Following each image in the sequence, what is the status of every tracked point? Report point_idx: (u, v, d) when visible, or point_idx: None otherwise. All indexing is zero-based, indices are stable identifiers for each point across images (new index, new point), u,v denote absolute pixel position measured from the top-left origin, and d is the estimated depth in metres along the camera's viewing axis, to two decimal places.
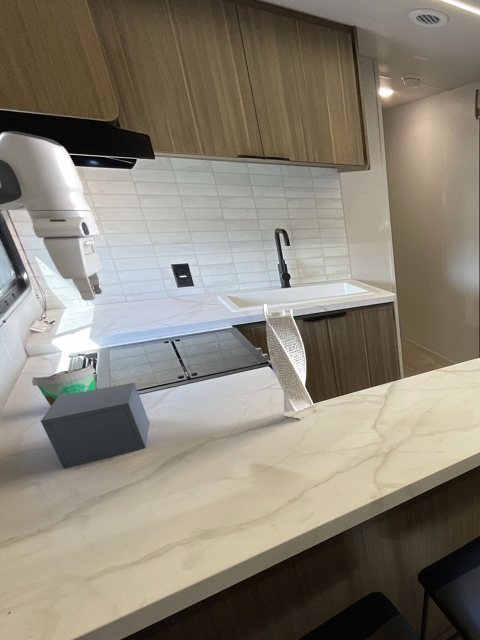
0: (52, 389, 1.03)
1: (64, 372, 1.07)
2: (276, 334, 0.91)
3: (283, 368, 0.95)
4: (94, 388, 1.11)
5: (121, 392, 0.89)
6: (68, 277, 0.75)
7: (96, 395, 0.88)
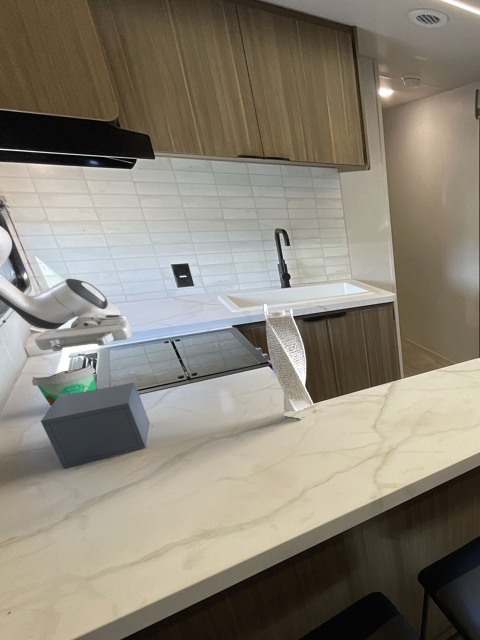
0: (52, 389, 1.03)
1: (64, 372, 1.07)
2: (276, 334, 0.91)
3: (283, 368, 0.95)
4: (94, 388, 1.11)
5: (121, 392, 0.89)
6: (125, 330, 1.19)
7: (96, 395, 0.88)
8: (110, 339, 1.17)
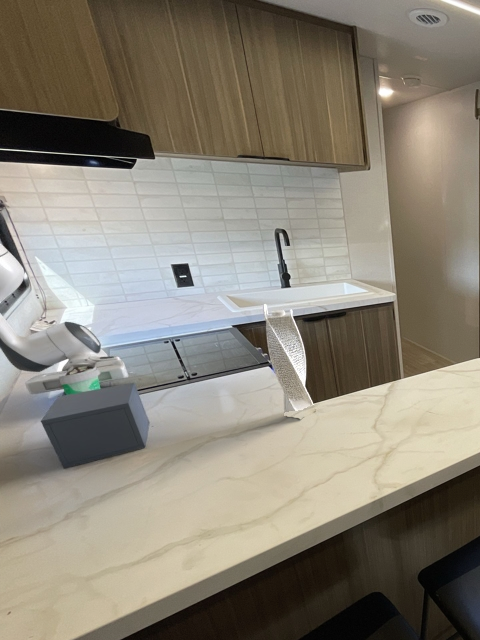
0: (82, 386, 1.05)
1: (73, 372, 1.06)
2: (276, 334, 0.91)
3: (283, 368, 0.95)
4: None
5: (121, 392, 0.89)
6: (123, 369, 1.17)
7: (96, 395, 0.88)
8: None
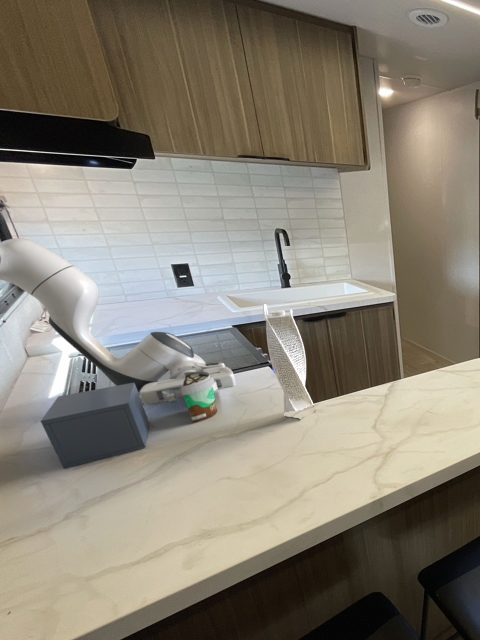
0: (201, 395, 0.98)
1: (189, 380, 0.99)
2: (276, 334, 0.91)
3: (283, 368, 0.95)
4: None
5: (121, 392, 0.89)
6: (232, 377, 1.10)
7: (96, 395, 0.88)
8: (215, 387, 1.06)
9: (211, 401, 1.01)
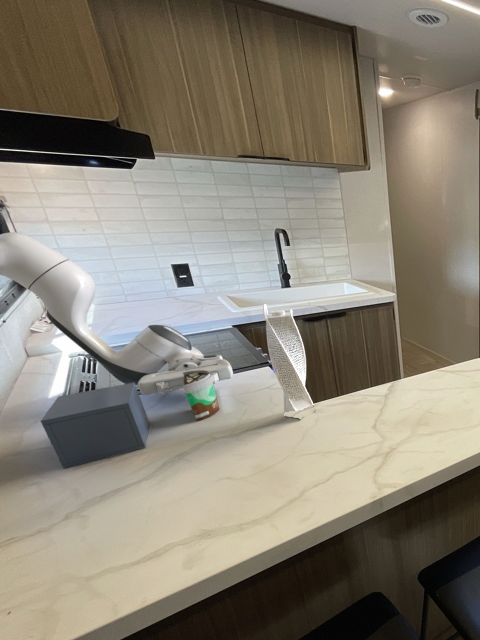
0: (203, 393, 0.99)
1: (189, 379, 1.00)
2: (276, 334, 0.91)
3: (283, 368, 0.95)
4: None
5: (121, 392, 0.89)
6: (230, 369, 1.11)
7: (96, 395, 0.88)
8: (217, 378, 1.08)
9: (213, 399, 1.02)
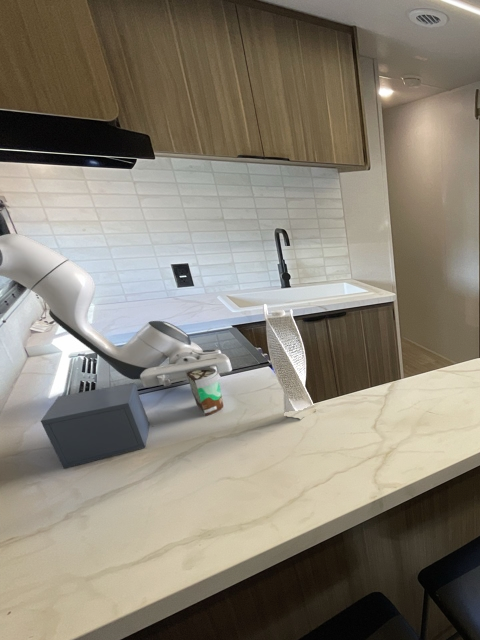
0: (212, 388, 1.02)
1: (196, 376, 1.02)
2: (276, 334, 0.91)
3: (283, 368, 0.95)
4: None
5: (121, 392, 0.89)
6: (228, 362, 1.16)
7: (96, 395, 0.88)
8: None
9: (219, 394, 1.05)
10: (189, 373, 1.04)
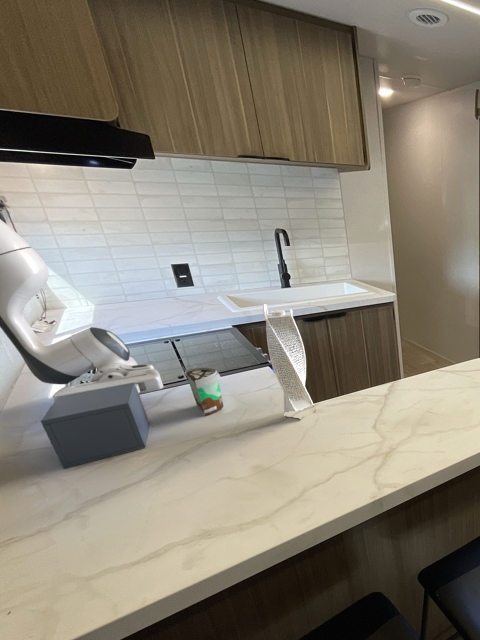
0: (212, 388, 1.02)
1: (196, 376, 1.02)
2: (276, 334, 0.91)
3: (283, 368, 0.95)
4: None
5: (121, 392, 0.89)
6: (158, 379, 1.06)
7: (96, 395, 0.88)
8: None
9: (219, 394, 1.05)
10: (189, 373, 1.04)
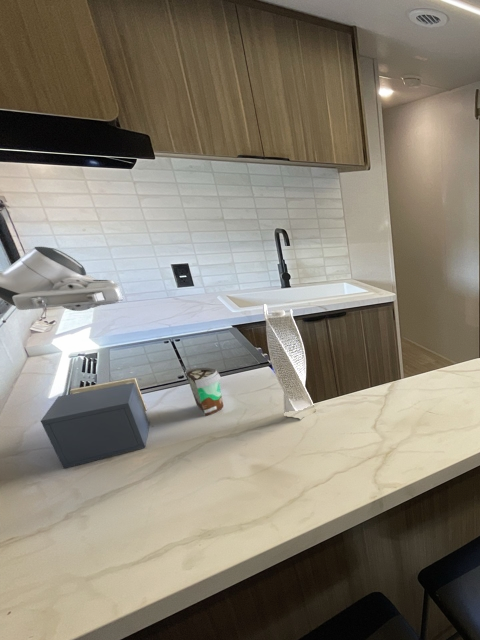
0: (212, 388, 1.02)
1: (196, 376, 1.02)
2: (276, 334, 0.91)
3: (283, 368, 0.95)
4: None
5: (121, 392, 0.89)
6: (117, 290, 1.10)
7: (96, 395, 0.88)
8: (101, 298, 1.07)
9: (219, 394, 1.05)
10: (189, 373, 1.04)
